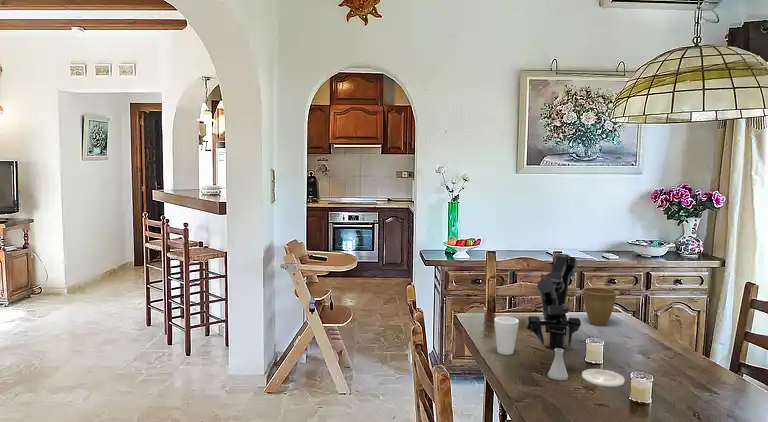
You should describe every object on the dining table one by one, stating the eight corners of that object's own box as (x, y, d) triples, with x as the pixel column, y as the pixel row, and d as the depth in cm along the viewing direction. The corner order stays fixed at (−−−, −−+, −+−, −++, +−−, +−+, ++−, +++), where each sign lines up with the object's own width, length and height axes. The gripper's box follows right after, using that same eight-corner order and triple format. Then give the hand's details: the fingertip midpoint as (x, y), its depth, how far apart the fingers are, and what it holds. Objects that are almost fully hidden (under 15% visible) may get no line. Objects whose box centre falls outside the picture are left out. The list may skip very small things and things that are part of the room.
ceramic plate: (591, 368, 209) (591, 365, 209) (630, 379, 200) (630, 376, 200) (575, 378, 199) (575, 375, 199) (615, 390, 189) (615, 387, 189)
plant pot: (615, 321, 272) (617, 289, 270) (614, 330, 258) (616, 295, 257) (582, 317, 278) (584, 285, 276) (579, 325, 264) (581, 291, 263)
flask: (569, 382, 196) (571, 354, 195) (548, 380, 197) (549, 352, 196) (567, 374, 203) (568, 347, 202) (546, 372, 204) (547, 345, 203)
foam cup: (503, 357, 219) (504, 324, 218) (488, 349, 227) (489, 318, 226) (522, 353, 224) (523, 321, 223) (507, 346, 232) (508, 315, 231)
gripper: (528, 294, 207) (534, 333, 197) (580, 296, 206) (588, 335, 196) (523, 310, 216) (528, 347, 206) (573, 311, 215) (580, 349, 205)
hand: (556, 344), depth 203 cm, fingers open, 9 cm apart
